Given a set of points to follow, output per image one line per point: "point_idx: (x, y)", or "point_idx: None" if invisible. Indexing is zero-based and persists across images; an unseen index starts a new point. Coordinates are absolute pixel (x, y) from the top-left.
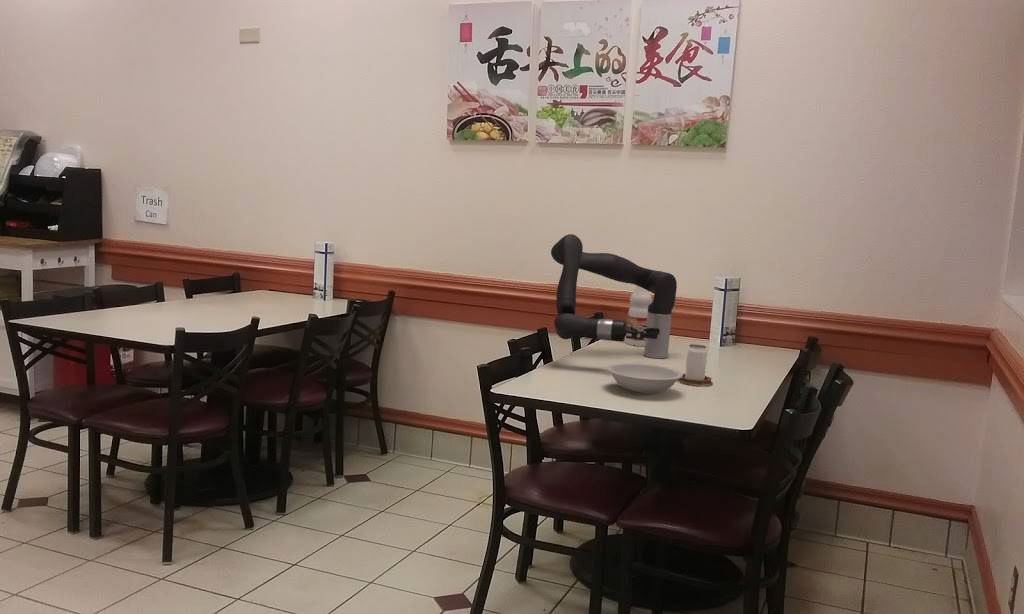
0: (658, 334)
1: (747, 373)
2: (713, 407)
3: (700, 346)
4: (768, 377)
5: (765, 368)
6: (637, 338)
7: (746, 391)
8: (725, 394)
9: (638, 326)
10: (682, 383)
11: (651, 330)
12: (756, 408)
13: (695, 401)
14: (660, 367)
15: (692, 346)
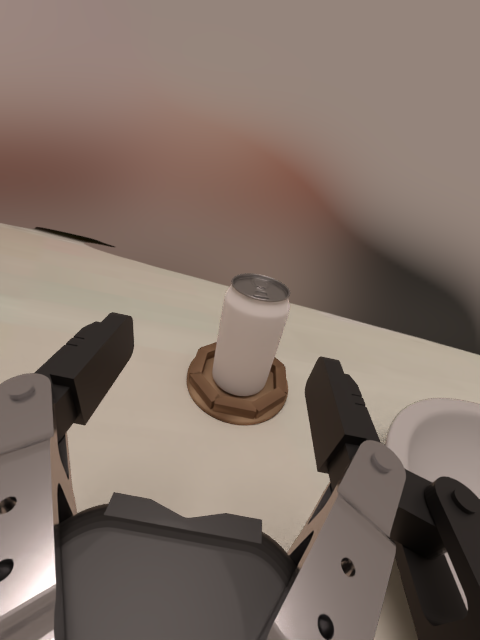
0: (131, 353)
1: (98, 278)
2: (463, 389)
3: (244, 281)
4: (134, 268)
5: (48, 251)
6: (457, 604)
7: None
8: (325, 348)
9: (52, 542)
10: (277, 412)
11: (96, 374)
12: (391, 333)
13: None
14: (408, 462)
15: (284, 298)
